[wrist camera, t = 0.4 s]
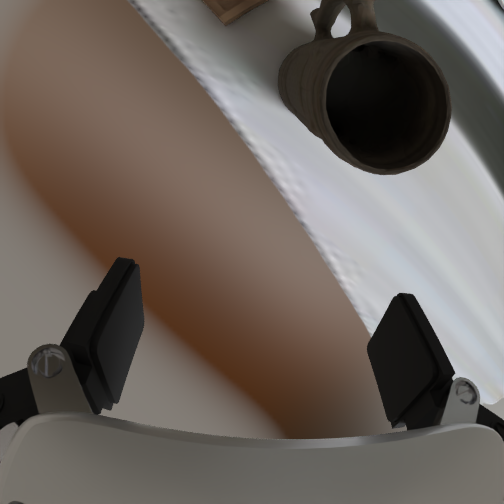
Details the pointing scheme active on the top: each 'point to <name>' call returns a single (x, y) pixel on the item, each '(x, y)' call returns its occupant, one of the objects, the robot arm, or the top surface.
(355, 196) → the top surface
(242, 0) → the tray
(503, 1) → the spoon rest
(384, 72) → the beer stein
